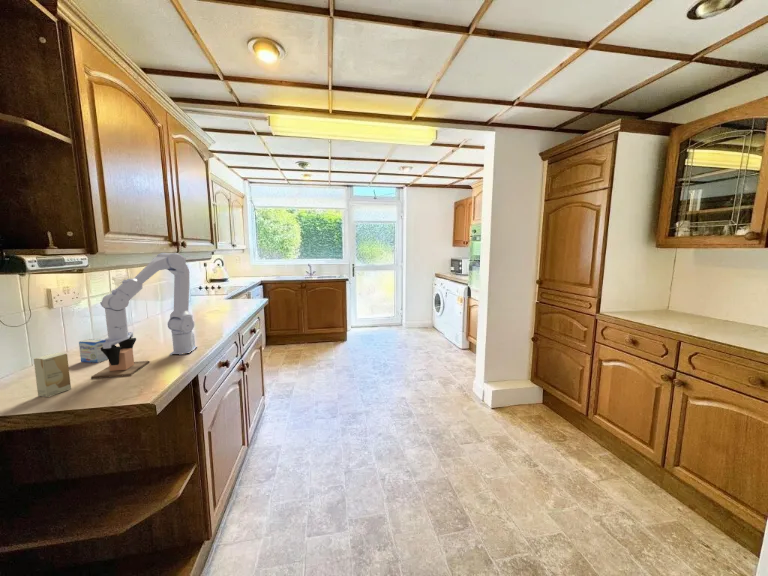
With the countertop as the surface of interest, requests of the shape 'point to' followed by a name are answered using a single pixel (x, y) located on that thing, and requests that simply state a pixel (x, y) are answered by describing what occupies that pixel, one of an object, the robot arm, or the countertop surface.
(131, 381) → the countertop surface
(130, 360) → the square cap
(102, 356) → the medicine box
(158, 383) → the countertop surface
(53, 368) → the skincare box
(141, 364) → the post board
